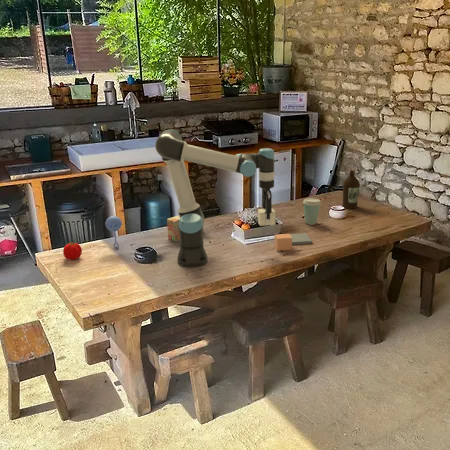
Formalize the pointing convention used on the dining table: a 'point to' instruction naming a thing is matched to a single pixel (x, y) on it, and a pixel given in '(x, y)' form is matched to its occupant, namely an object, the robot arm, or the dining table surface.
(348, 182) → the olive oil
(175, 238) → the printed cardboard box
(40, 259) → the dining table surface
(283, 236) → the terracotta brick
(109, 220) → the baby rattle
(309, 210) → the disposable coffee cup
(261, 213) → the cream brick
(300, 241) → the slate pad
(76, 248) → the tomato
